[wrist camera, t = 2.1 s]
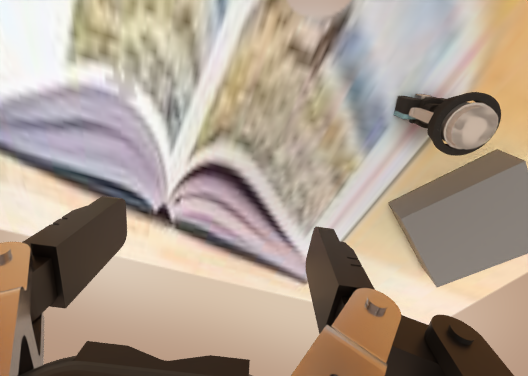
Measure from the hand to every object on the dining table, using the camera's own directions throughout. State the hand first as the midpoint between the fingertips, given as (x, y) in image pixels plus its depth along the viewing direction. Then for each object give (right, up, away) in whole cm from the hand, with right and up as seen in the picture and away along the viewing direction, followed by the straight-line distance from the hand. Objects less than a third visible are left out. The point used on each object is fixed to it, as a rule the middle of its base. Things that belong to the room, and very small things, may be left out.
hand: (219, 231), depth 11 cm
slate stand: (+29, -2, +25) cm, 38 cm away
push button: (+20, +11, +19) cm, 30 cm away
